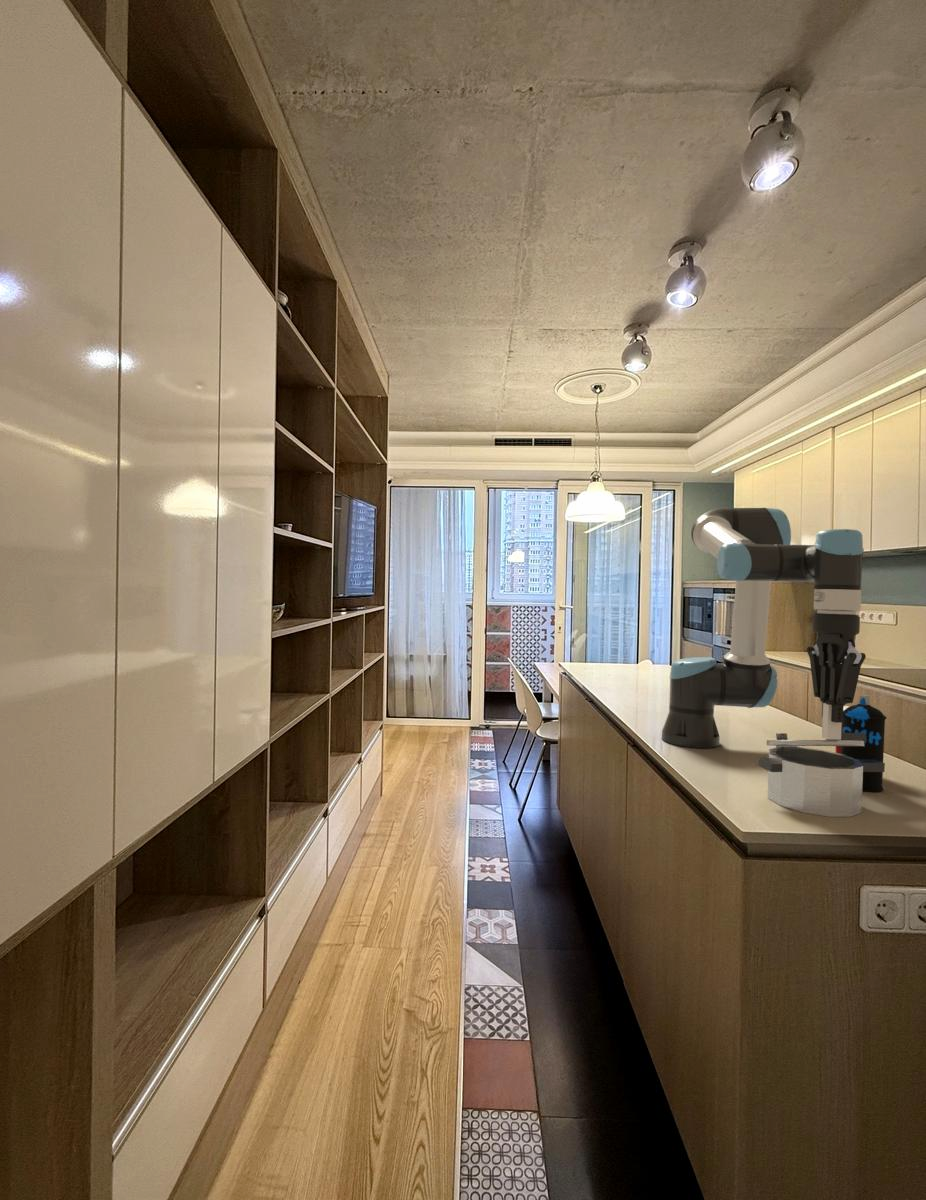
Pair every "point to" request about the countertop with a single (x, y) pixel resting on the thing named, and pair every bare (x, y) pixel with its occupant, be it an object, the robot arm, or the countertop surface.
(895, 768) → the countertop surface
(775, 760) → the pot
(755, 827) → the countertop surface
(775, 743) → the lid
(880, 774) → the aerosol can
